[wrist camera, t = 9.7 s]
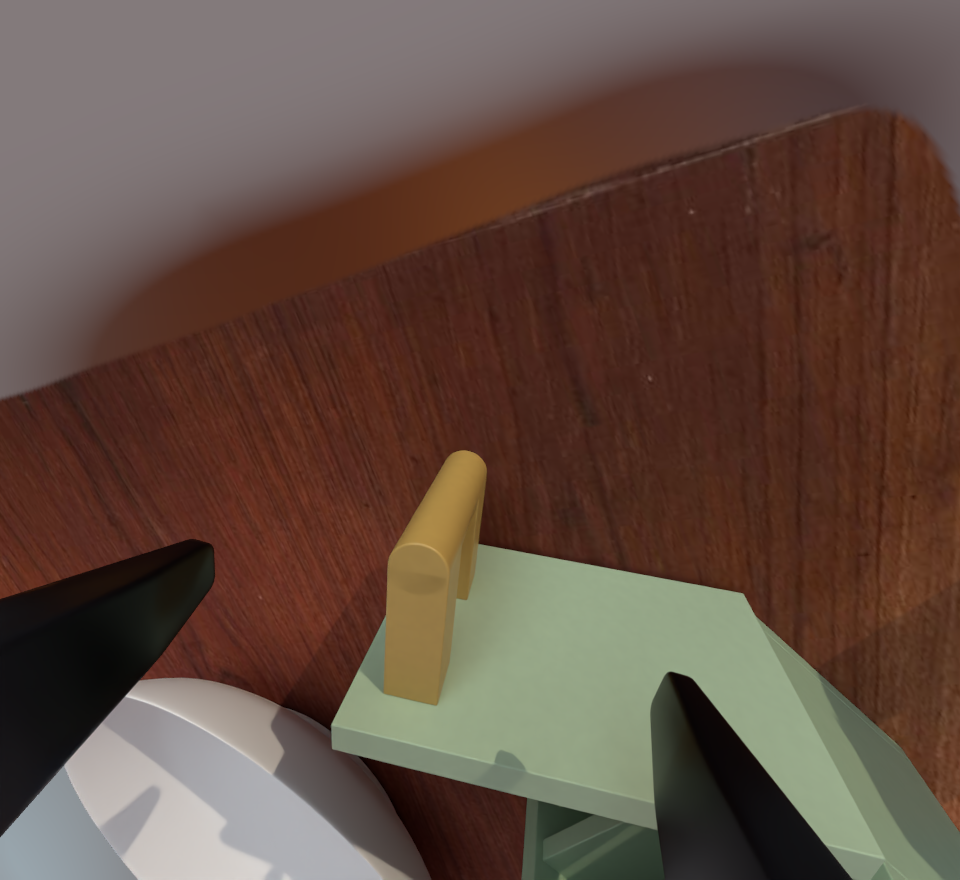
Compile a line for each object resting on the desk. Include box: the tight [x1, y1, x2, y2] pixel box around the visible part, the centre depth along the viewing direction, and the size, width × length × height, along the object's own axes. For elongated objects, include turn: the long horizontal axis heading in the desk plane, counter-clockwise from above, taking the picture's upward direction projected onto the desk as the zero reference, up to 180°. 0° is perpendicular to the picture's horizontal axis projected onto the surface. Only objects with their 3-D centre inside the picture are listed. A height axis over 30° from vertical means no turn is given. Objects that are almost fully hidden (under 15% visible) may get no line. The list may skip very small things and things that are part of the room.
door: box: [331, 451, 885, 880], centre depth 15 cm, size 6×14×9 cm, turn 84°
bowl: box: [64, 678, 432, 880], centre depth 26 cm, size 30×15×6 cm, turn 26°
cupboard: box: [522, 617, 960, 880], centre depth 18 cm, size 10×14×10 cm
